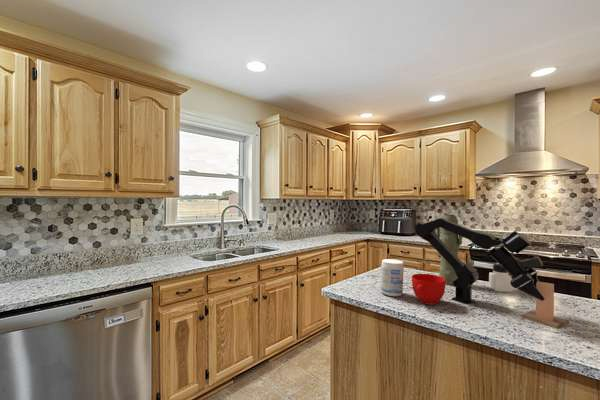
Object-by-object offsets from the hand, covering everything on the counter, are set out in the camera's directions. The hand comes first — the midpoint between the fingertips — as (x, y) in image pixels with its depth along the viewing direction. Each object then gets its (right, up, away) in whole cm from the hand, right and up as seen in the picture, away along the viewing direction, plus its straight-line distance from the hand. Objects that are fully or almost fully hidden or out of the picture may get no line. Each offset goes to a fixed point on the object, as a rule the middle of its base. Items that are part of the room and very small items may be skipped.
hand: (544, 296), depth 100 cm
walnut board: (0, -8, 0) cm, 8 cm away
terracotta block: (0, -7, 0) cm, 7 cm away
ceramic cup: (-35, -8, +16) cm, 39 cm away
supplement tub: (-46, -8, +27) cm, 54 cm away
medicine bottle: (+8, -8, +33) cm, 35 cm away
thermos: (-11, -8, +43) cm, 45 cm away
